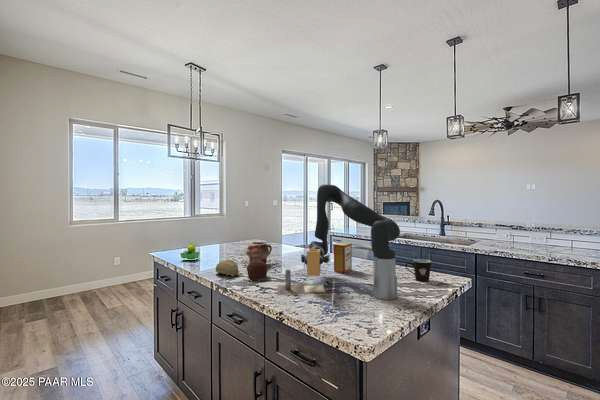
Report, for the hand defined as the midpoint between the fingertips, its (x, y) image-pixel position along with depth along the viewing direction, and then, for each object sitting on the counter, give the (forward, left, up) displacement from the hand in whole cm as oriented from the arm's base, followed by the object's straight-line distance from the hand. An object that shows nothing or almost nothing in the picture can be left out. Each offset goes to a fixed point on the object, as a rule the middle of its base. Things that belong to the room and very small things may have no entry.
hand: (313, 262), depth 137 cm
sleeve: (0, -3, -6) cm, 7 cm away
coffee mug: (-57, -18, -14) cm, 61 cm away
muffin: (+27, -24, -14) cm, 39 cm away
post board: (+5, -2, -14) cm, 15 cm away
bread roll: (+46, -36, -15) cm, 60 cm away
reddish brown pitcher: (+29, -59, -14) cm, 68 cm away
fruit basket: (+78, -76, -14) cm, 110 cm away
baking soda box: (-21, -39, -14) cm, 47 cm away
